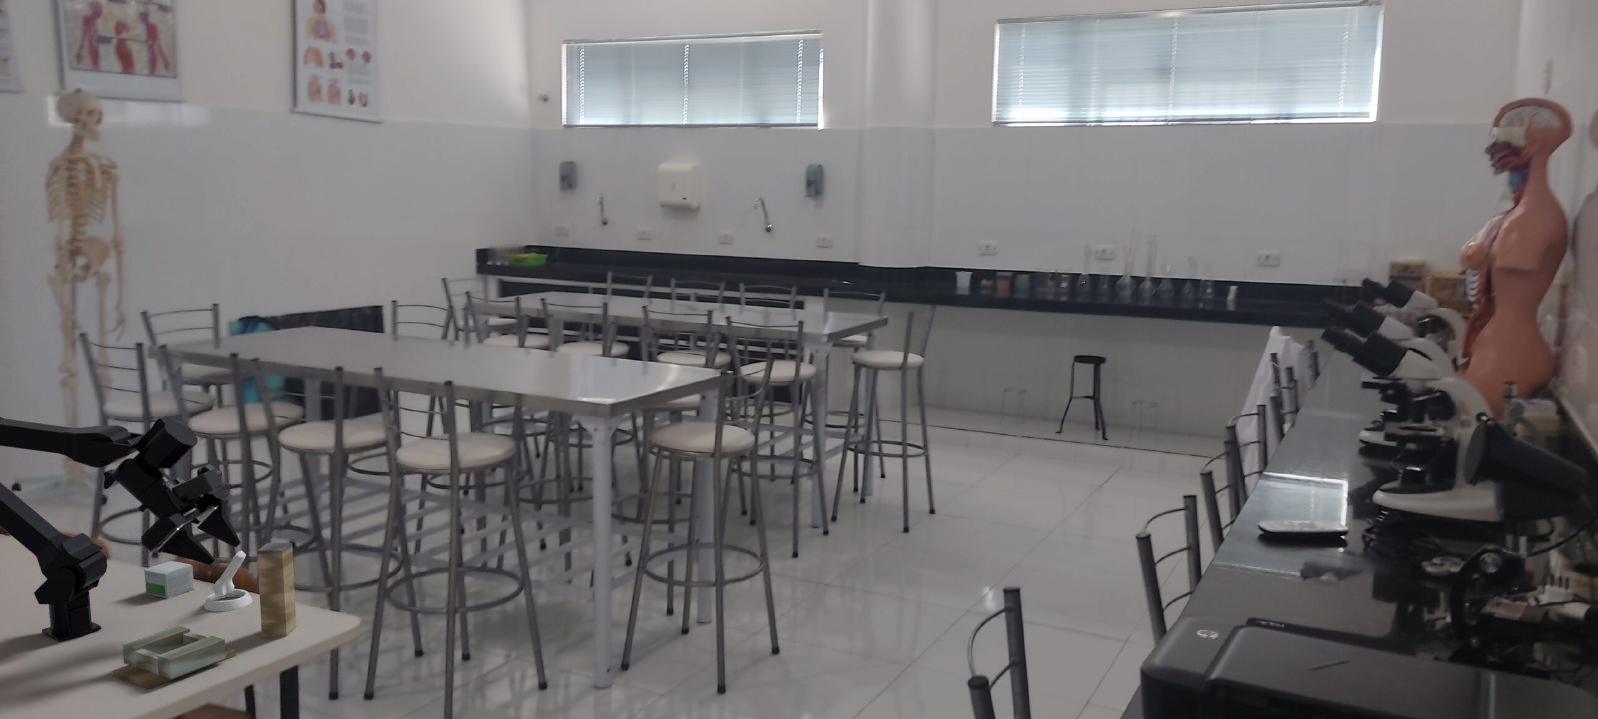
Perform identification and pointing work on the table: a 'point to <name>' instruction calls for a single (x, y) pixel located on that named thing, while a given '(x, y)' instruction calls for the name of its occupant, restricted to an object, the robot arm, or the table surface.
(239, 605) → the white stemmed ring
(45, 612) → the table surface
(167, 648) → the socket
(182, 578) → the small box
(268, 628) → the rail post
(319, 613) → the table surface
